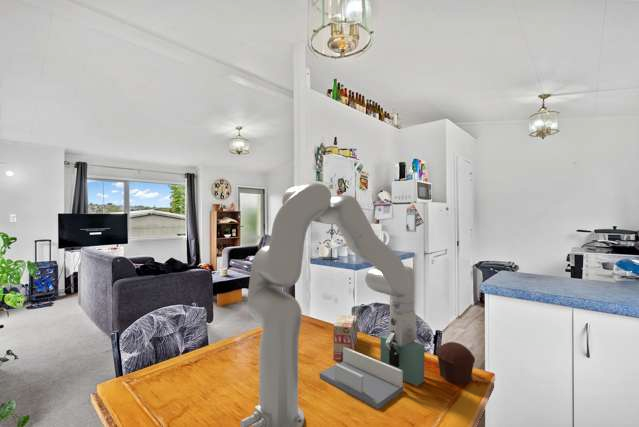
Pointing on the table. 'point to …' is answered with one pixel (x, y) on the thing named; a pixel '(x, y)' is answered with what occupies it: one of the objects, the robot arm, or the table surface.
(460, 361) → the muffin
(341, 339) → the printed carton
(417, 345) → the book
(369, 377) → the grey slotted holder
